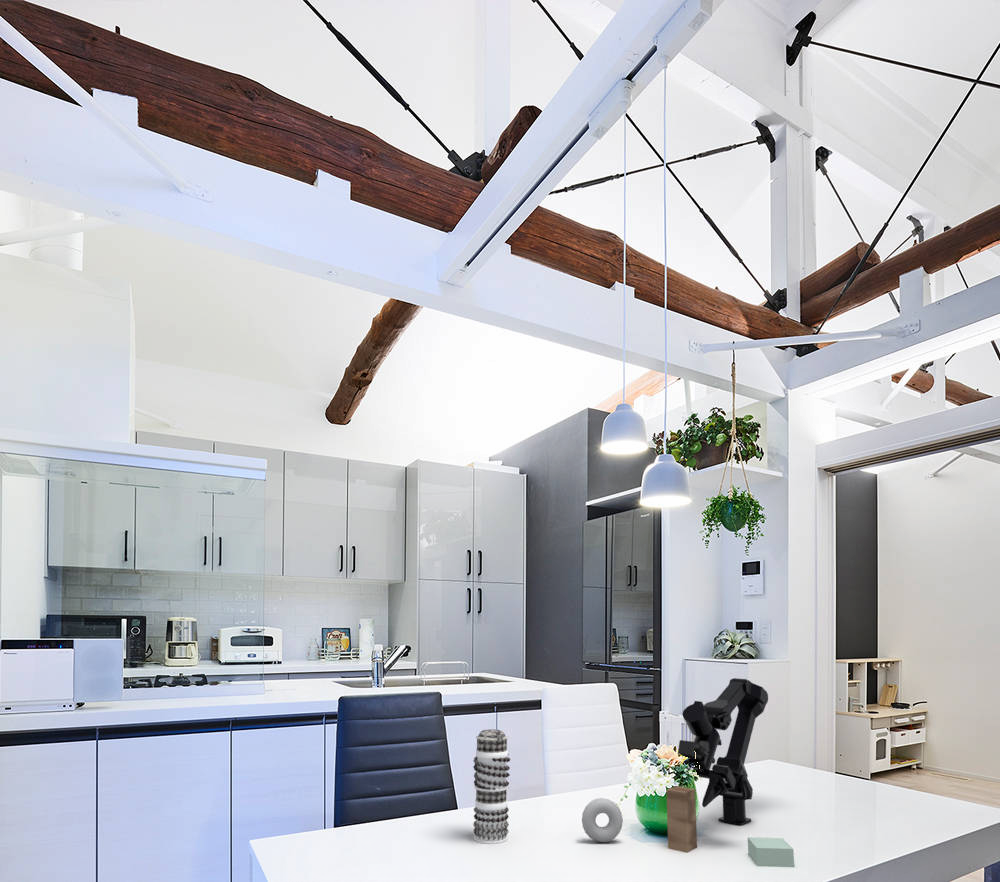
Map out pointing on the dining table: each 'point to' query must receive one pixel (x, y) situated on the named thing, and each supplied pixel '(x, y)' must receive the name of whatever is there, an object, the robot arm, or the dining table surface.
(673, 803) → the walnut pillar
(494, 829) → the white grey cylinder
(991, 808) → the dining table surface
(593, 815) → the donut
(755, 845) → the sage slab
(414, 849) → the dining table surface
